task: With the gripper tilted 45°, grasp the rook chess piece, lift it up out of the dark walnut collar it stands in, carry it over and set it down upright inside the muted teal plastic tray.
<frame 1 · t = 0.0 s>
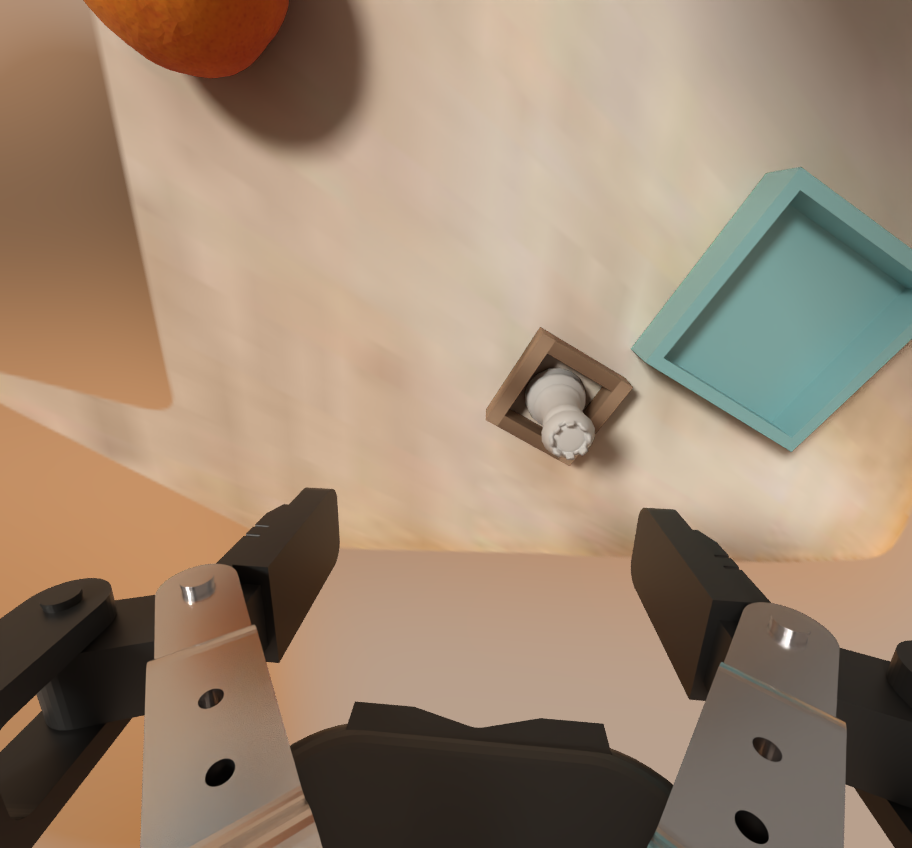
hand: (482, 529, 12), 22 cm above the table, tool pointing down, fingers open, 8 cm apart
socket collar: (553, 394, 33), on the table
rook chess piece: (553, 393, 34), resting in socket collar
tray: (765, 317, 30), on the table
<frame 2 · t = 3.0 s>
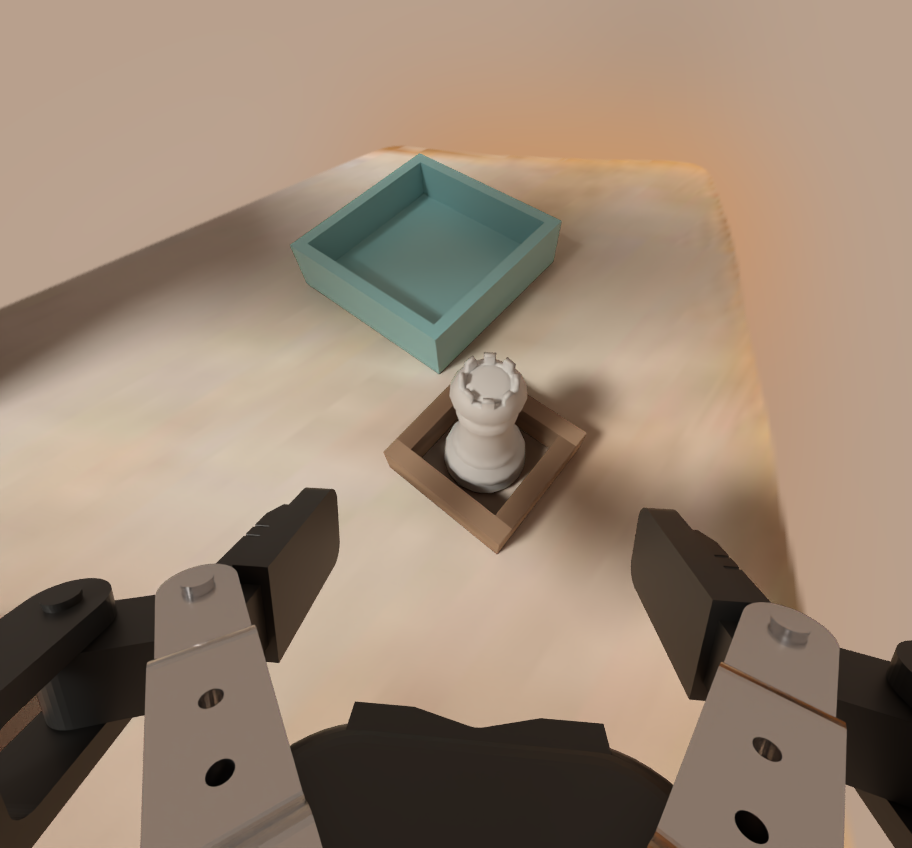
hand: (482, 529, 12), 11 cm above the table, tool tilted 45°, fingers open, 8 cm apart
socket collar: (484, 457, 24), on the table
rook chess piece: (484, 459, 25), resting in socket collar
tray: (430, 272, 31), on the table
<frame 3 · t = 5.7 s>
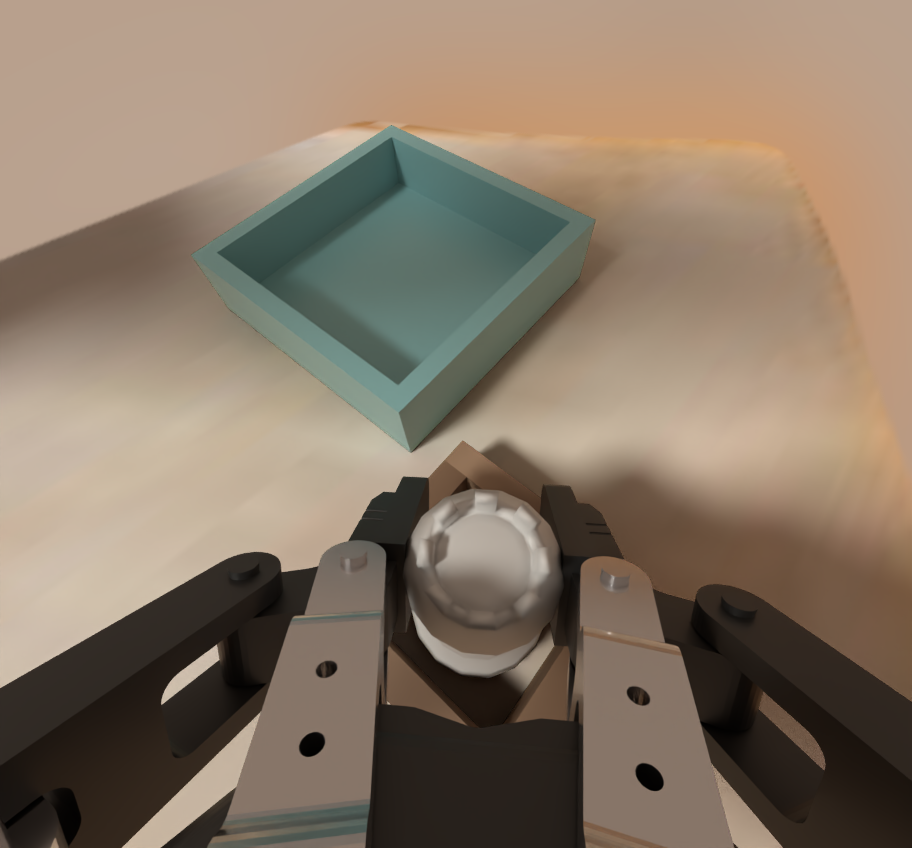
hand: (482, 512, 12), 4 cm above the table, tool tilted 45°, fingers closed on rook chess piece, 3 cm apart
socket collar: (478, 603, 15), on the table
rook chess piece: (477, 603, 15), resting in socket collar, touching gripper
tray: (404, 292, 22), on the table
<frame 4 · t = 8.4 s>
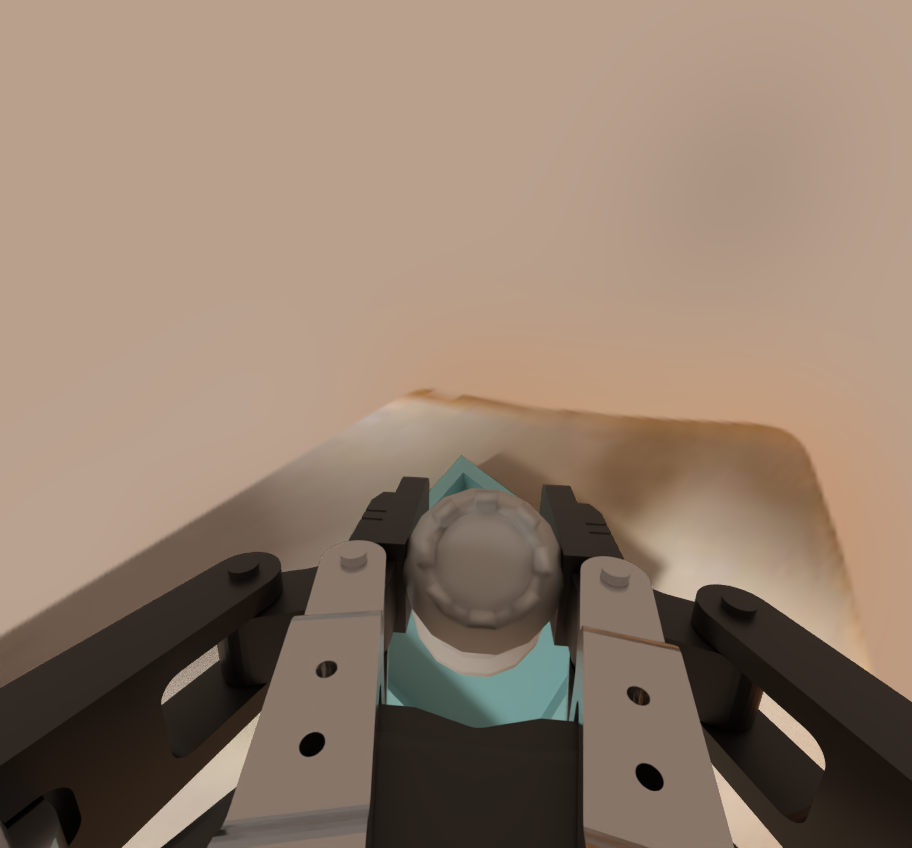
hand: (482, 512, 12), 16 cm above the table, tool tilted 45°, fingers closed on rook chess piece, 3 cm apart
rook chess piece: (478, 603, 15), point 11 cm above the table, touching gripper
tray: (477, 616, 26), on the table
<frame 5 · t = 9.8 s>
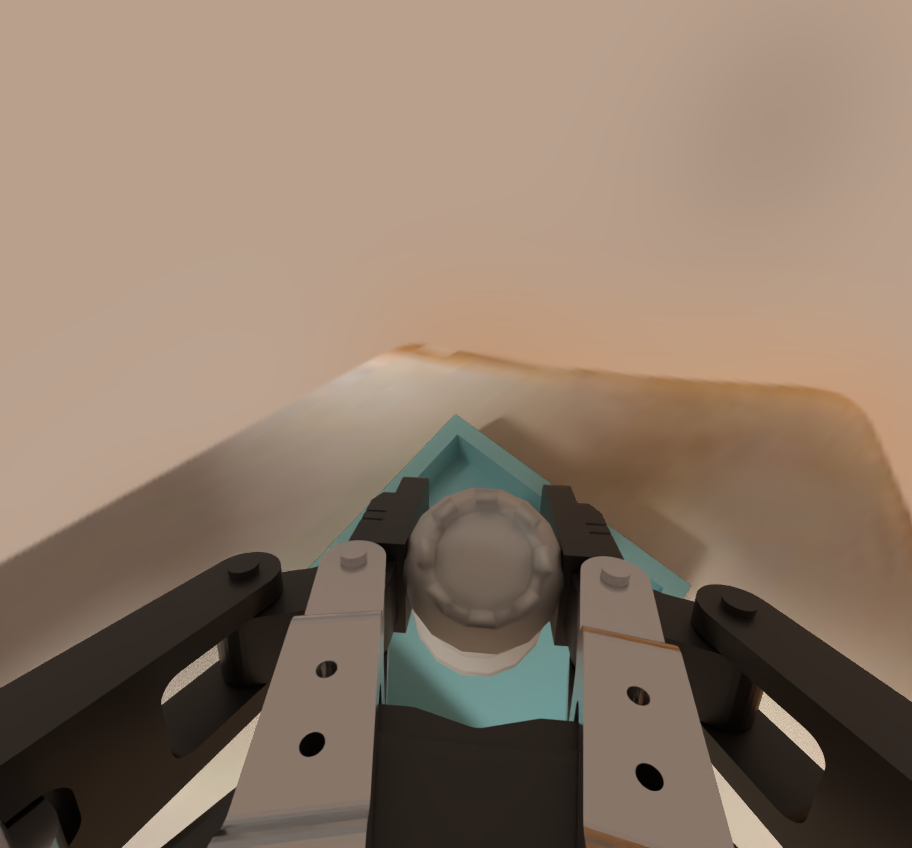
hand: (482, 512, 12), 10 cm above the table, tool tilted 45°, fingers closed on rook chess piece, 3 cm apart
rook chess piece: (478, 603, 15), point 6 cm above the table, touching gripper
tray: (473, 612, 21), on the table
when the fingers open (6 cm above the table, at t = 11.0 s): rook chess piece drops 1 cm, resting on tray.
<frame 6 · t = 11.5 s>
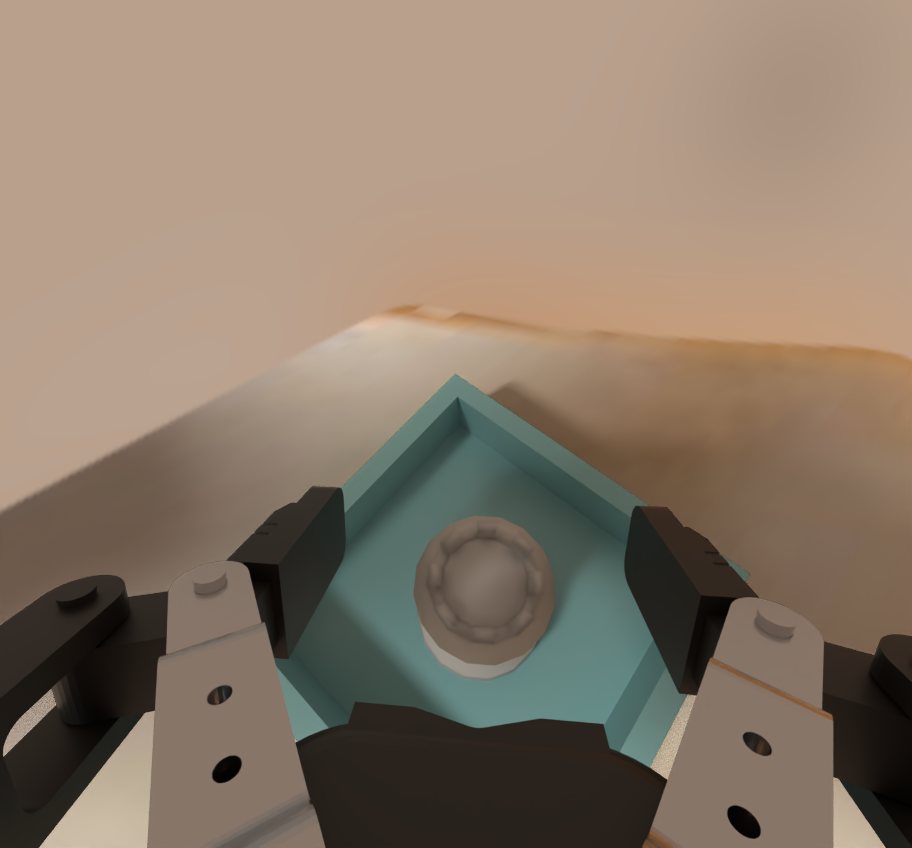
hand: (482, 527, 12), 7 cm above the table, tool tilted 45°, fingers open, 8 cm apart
rook chess piece: (479, 612, 16), point 1 cm above the table, touching tray
tray: (477, 609, 17), on the table
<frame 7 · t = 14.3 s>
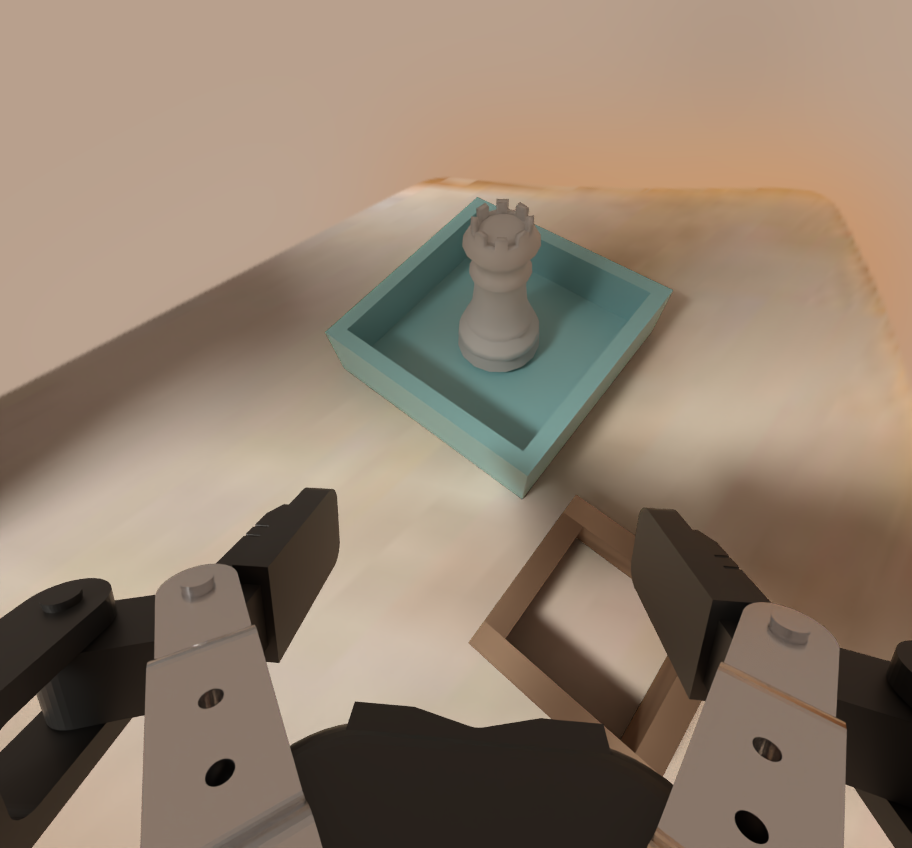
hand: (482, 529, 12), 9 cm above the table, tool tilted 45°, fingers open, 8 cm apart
socket collar: (595, 629, 18), on the table
rook chess piece: (498, 345, 25), point 1 cm above the table, touching tray
tray: (496, 350, 25), on the table
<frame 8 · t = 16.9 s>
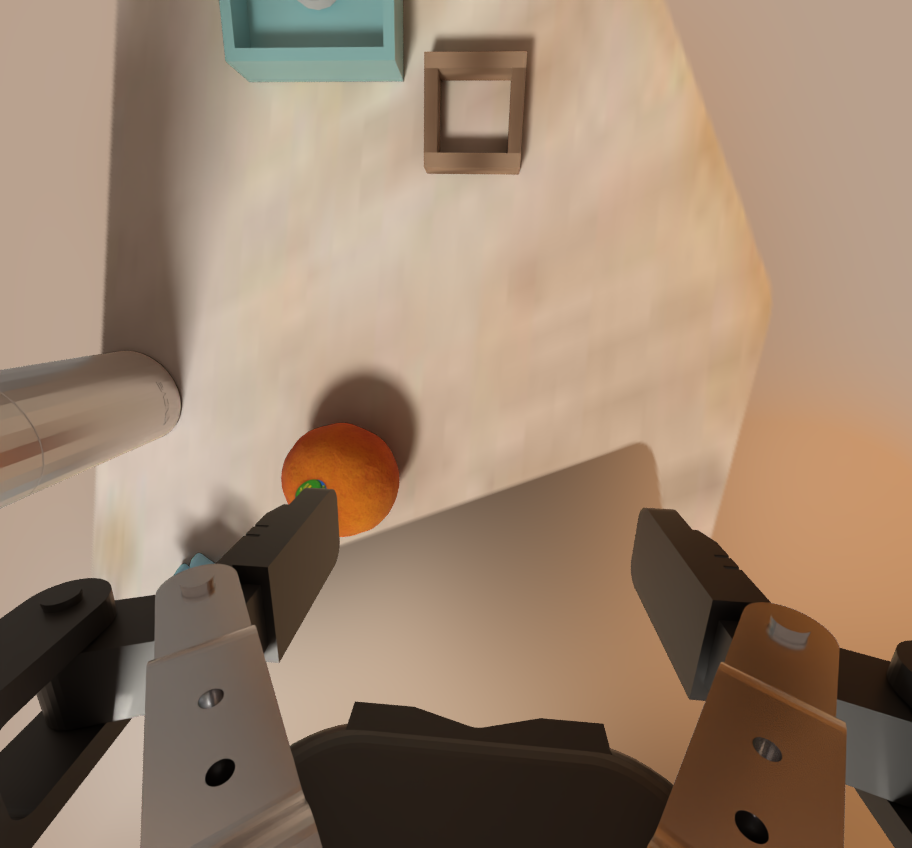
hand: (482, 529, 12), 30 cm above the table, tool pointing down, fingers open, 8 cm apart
fruit: (355, 462, 45), on the table
socket collar: (474, 121, 35), on the table
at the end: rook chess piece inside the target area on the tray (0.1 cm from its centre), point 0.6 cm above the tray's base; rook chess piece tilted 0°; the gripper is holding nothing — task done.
